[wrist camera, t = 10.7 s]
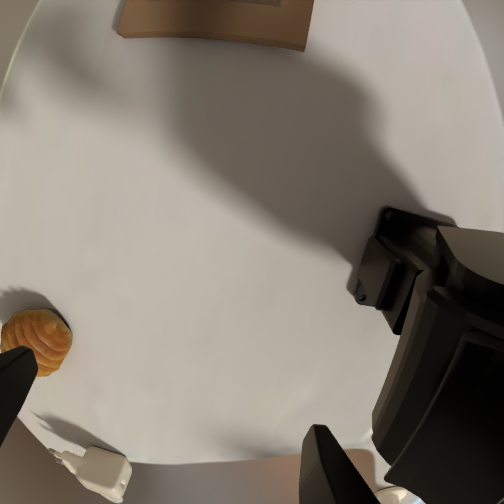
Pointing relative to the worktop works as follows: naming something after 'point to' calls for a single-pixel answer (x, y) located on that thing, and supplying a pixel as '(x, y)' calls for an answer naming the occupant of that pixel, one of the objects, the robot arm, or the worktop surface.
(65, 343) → the pastry
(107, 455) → the power adapter
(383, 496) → the candle
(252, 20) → the plate
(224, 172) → the worktop surface
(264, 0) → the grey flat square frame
